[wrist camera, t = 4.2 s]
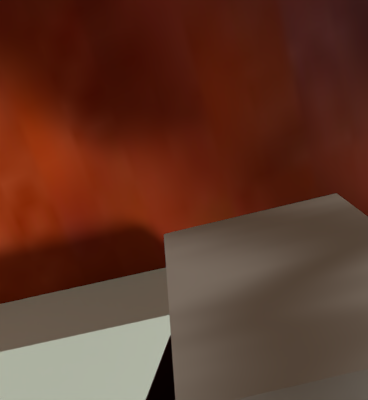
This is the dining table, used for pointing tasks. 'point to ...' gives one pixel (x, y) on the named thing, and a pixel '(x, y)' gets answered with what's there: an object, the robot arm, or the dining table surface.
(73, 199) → the dining table surface
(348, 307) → the cream block
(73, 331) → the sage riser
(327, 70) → the dining table surface
